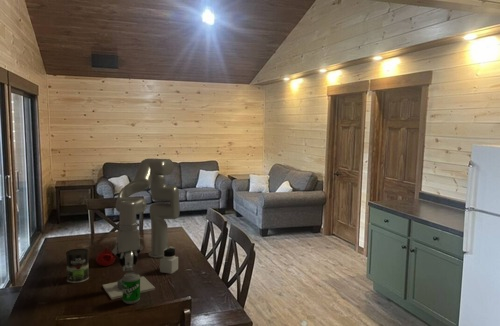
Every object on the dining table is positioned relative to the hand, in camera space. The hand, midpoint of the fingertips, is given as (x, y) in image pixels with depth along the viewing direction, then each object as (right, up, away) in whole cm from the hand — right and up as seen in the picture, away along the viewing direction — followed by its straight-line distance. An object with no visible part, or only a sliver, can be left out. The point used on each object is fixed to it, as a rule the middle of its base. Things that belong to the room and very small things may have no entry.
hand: (128, 264), depth 185 cm
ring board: (0, -12, +1) cm, 12 cm away
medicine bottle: (+14, -10, +24) cm, 30 cm away
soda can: (+5, -13, -12) cm, 19 cm away
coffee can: (-29, -10, +11) cm, 32 cm away
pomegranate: (-22, -8, +32) cm, 40 cm away
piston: (0, -2, 0) cm, 2 cm away
